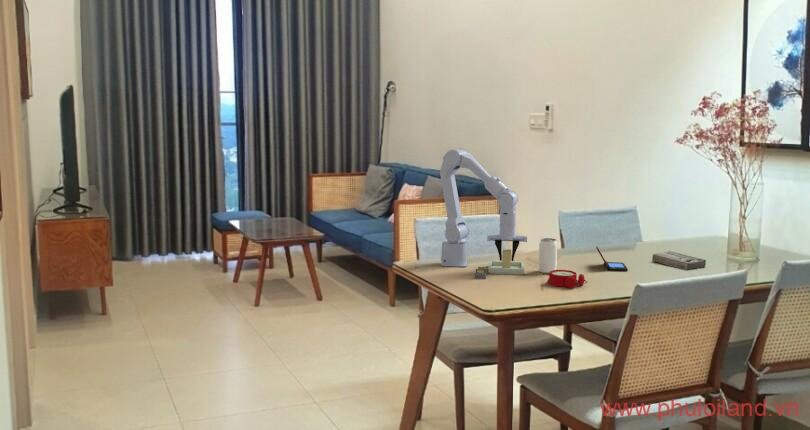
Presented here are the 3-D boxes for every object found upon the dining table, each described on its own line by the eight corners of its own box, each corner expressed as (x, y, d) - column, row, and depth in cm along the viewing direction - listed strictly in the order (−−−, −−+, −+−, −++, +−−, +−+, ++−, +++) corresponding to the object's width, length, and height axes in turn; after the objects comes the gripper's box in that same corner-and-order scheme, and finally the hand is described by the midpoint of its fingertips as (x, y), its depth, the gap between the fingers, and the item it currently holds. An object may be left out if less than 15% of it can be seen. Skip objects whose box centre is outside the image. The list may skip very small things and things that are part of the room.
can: (557, 270, 289) (558, 238, 287) (554, 274, 283) (556, 241, 281) (540, 269, 291) (541, 237, 289) (537, 272, 285) (538, 240, 283)
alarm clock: (557, 268, 276) (592, 266, 264) (560, 286, 276) (595, 284, 264) (538, 272, 269) (573, 270, 257) (541, 290, 269) (576, 289, 257)
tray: (488, 273, 283) (488, 268, 282) (489, 265, 296) (489, 260, 295) (524, 274, 281) (524, 269, 281) (523, 267, 294) (524, 262, 293)
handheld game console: (628, 272, 287) (629, 252, 286) (598, 271, 289) (599, 251, 288) (623, 265, 299) (624, 246, 298) (594, 264, 301) (595, 245, 300)
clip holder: (474, 278, 275) (474, 271, 275) (475, 272, 284) (475, 266, 283) (485, 278, 275) (485, 271, 274) (486, 273, 283) (486, 266, 283)
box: (669, 258, 311) (670, 250, 310) (706, 267, 296) (706, 259, 296) (651, 261, 305) (651, 254, 305) (687, 271, 291) (687, 263, 290)
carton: (502, 270, 286) (502, 251, 285) (502, 267, 291) (502, 248, 290) (510, 270, 285) (510, 251, 284) (510, 267, 290) (511, 248, 289)
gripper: (487, 225, 283) (486, 261, 285) (527, 226, 281) (526, 263, 283) (488, 222, 290) (487, 258, 292) (527, 223, 288) (526, 259, 290)
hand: (506, 260), depth 288 cm, fingers open, 4 cm apart
